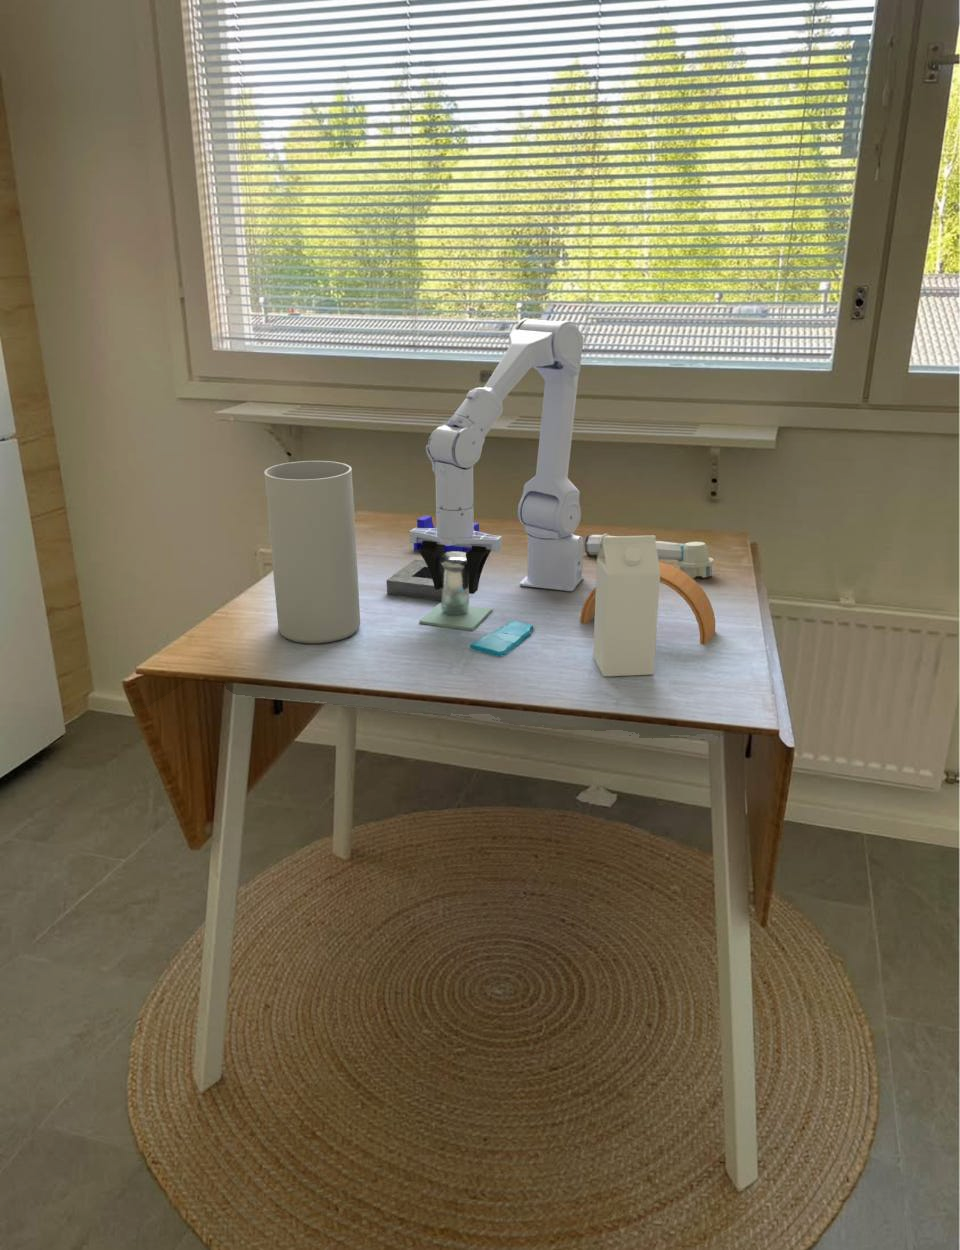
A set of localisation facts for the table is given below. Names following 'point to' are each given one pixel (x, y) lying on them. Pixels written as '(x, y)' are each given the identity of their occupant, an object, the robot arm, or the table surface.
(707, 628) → the arch
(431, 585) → the socket block
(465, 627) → the mat
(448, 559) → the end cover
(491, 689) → the table surface
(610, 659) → the milk carton
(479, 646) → the sponge
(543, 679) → the table surface
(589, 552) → the angle grinder
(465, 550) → the blue bearing cradle
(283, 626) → the cylinder vase
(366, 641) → the table surface
